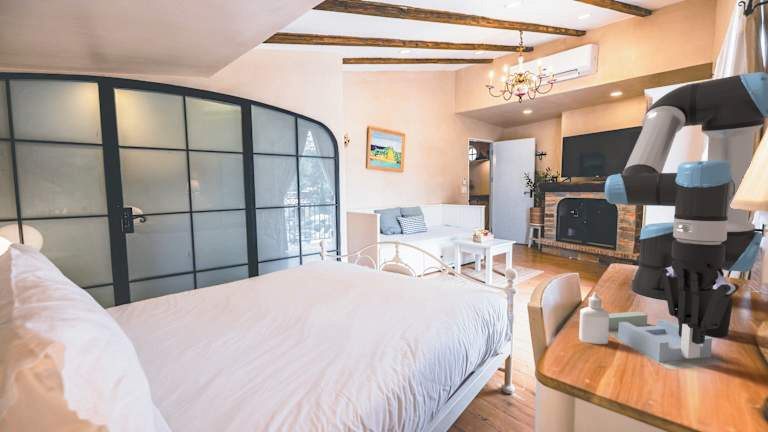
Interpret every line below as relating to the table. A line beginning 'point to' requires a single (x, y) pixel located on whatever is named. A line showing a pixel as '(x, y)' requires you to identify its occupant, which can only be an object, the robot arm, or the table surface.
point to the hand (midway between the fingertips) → (689, 355)
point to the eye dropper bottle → (594, 322)
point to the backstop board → (641, 321)
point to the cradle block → (659, 340)
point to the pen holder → (724, 324)
